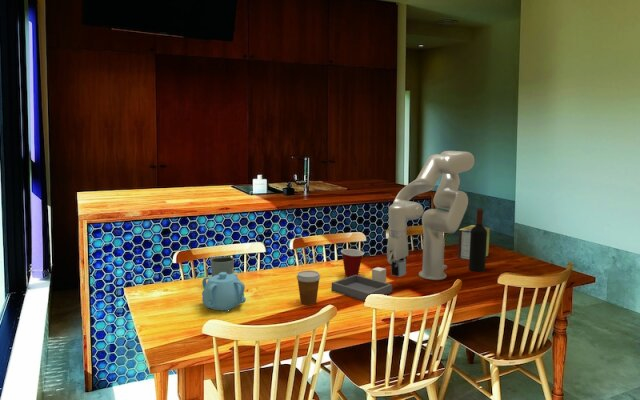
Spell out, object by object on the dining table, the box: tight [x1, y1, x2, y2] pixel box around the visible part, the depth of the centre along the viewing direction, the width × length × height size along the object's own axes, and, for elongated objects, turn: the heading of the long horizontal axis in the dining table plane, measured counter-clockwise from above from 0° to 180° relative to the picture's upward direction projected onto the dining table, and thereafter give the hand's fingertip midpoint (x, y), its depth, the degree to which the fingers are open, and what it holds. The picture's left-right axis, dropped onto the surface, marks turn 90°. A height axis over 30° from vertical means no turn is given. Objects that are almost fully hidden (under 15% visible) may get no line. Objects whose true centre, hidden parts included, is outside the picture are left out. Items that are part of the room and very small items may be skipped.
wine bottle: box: [468, 208, 487, 273], centre depth 254 cm, size 8×8×30 cm
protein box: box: [457, 224, 491, 261], centre depth 279 cm, size 10×15×16 cm
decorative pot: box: [201, 272, 247, 312], centre depth 206 cm, size 16×16×14 cm
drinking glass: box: [209, 256, 235, 277], centre depth 231 cm, size 10×10×12 cm
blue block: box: [390, 260, 407, 278], centre depth 230 cm, size 4×4×6 cm
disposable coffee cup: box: [296, 270, 321, 306], centre depth 210 cm, size 10×10×12 cm
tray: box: [331, 274, 393, 302], centre depth 224 cm, size 16×20×4 cm
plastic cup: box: [340, 248, 365, 278], centre depth 245 cm, size 11×11×12 cm
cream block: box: [371, 266, 387, 283], centre depth 237 cm, size 4×4×6 cm
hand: (398, 273), depth 230 cm, fingers closed on blue block, 4 cm apart
